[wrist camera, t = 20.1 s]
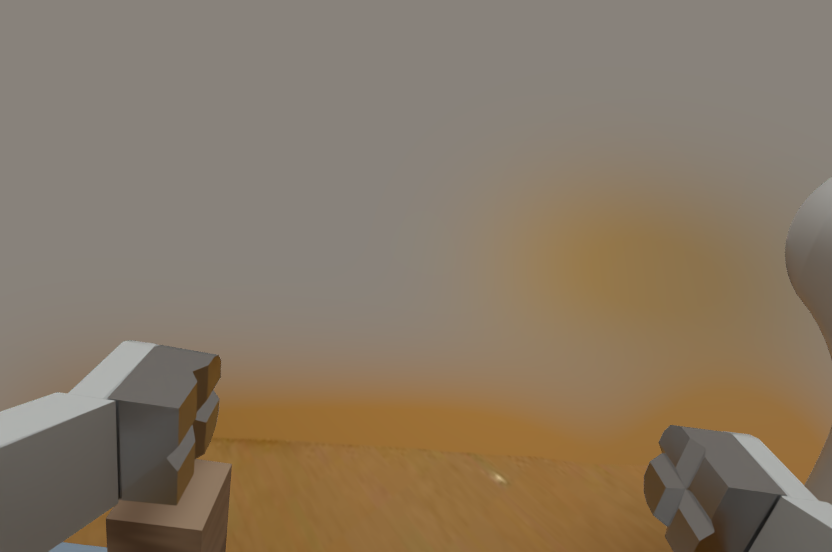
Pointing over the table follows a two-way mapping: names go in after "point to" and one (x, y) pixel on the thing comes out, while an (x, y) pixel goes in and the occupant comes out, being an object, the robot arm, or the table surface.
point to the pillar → (176, 517)
